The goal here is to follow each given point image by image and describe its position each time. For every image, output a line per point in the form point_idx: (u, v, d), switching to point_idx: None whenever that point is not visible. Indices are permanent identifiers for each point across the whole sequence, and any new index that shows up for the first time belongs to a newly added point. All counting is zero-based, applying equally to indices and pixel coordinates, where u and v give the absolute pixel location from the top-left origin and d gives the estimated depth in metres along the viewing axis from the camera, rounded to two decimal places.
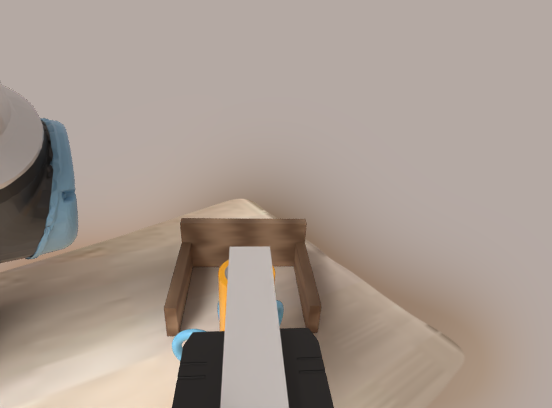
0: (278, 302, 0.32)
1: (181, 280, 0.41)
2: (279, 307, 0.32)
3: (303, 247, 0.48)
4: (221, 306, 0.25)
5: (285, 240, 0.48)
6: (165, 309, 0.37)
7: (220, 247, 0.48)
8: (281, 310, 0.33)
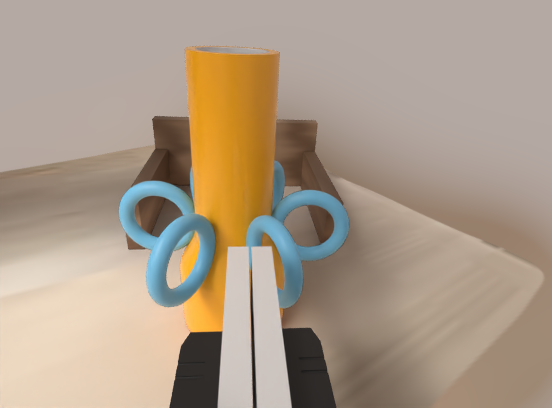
0: (278, 162, 0.22)
1: (150, 179, 0.30)
2: (279, 170, 0.22)
3: (313, 155, 0.37)
4: (192, 109, 0.15)
5: (290, 148, 0.38)
6: None
7: None
8: (282, 179, 0.23)
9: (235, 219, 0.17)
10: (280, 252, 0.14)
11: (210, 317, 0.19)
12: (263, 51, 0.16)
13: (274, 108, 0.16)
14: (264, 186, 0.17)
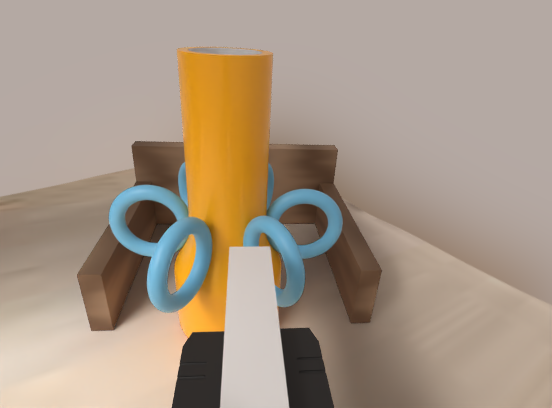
0: (267, 162, 0.22)
1: None
2: (269, 170, 0.22)
3: (332, 188, 0.30)
4: (186, 111, 0.15)
5: (303, 179, 0.30)
6: (80, 277, 0.19)
7: None
8: (271, 178, 0.23)
9: (232, 220, 0.17)
10: (282, 252, 0.15)
11: (208, 320, 0.18)
12: (255, 52, 0.16)
13: (268, 108, 0.16)
14: (260, 186, 0.17)
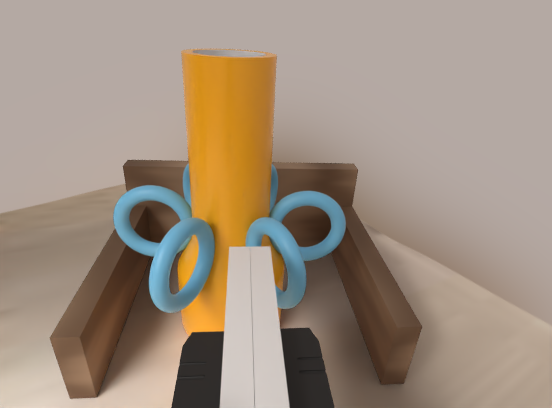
0: (271, 164, 0.22)
1: (110, 272, 0.19)
2: (273, 171, 0.23)
3: (351, 213, 0.26)
4: (190, 112, 0.15)
5: None
6: (54, 340, 0.15)
7: None
8: (275, 180, 0.23)
9: (235, 221, 0.17)
10: (283, 253, 0.15)
11: (210, 321, 0.18)
12: (259, 54, 0.16)
13: (272, 110, 0.16)
14: (263, 188, 0.17)
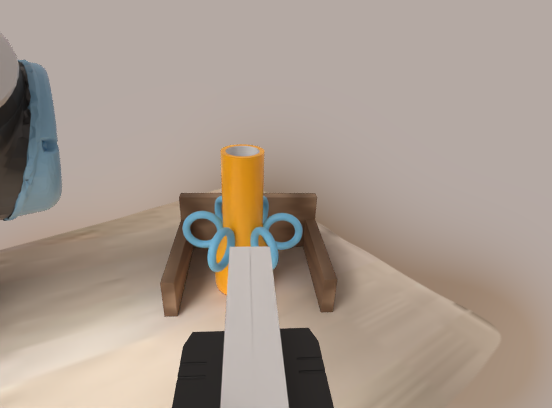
0: (264, 196, 0.40)
1: (180, 255, 0.37)
2: (265, 200, 0.40)
3: (313, 223, 0.44)
4: (224, 178, 0.33)
5: (294, 216, 0.44)
6: (162, 284, 0.33)
7: None
8: (267, 205, 0.41)
9: (245, 229, 0.34)
10: (267, 243, 0.32)
11: None
12: (256, 148, 0.34)
13: (262, 176, 0.33)
14: (258, 212, 0.34)
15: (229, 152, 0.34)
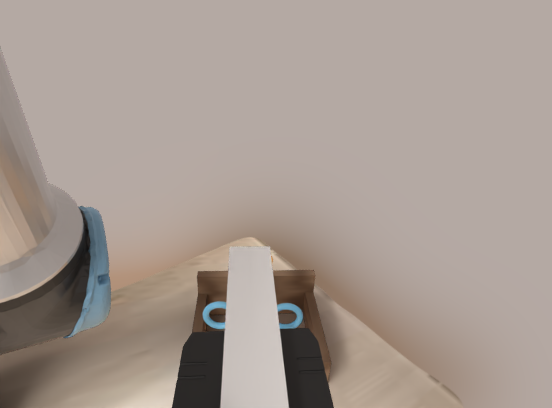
0: None
1: None
2: None
3: (312, 297, 0.51)
4: None
5: (295, 290, 0.52)
6: None
7: None
8: None
9: None
10: None
11: None
12: None
13: None
14: None
15: None
